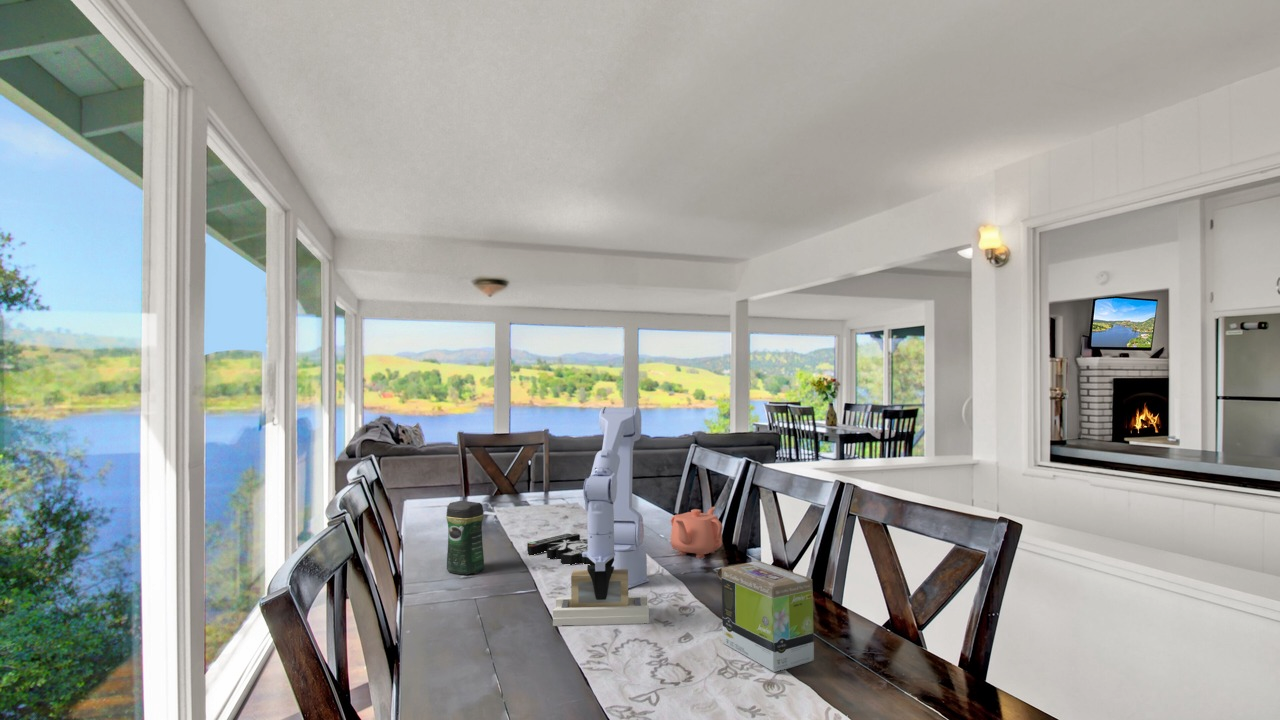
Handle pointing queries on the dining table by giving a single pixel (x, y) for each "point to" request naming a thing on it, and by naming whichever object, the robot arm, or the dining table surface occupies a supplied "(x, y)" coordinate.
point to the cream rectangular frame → (601, 613)
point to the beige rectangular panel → (586, 596)
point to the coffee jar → (465, 537)
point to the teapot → (696, 532)
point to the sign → (561, 548)
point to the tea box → (768, 614)
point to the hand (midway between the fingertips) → (601, 595)
